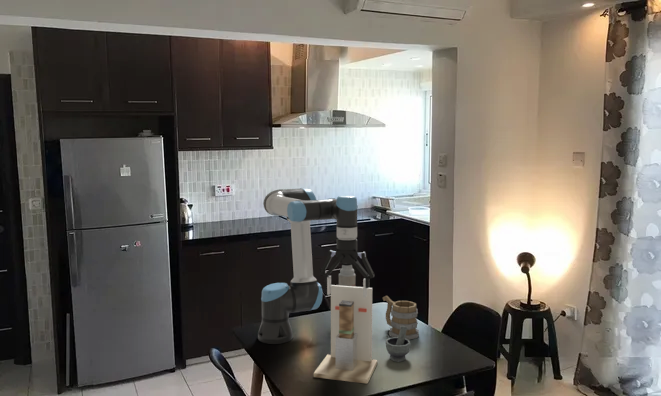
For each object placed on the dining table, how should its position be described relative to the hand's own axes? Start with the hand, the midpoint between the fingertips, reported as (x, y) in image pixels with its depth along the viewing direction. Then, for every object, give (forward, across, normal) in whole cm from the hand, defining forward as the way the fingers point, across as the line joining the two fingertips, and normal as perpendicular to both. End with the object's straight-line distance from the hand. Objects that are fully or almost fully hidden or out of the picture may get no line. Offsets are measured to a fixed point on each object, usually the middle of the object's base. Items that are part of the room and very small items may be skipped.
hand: (346, 295), depth 201 cm
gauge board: (+27, 0, +8) cm, 28 cm away
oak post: (+27, 0, 0) cm, 27 cm away
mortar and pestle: (+29, +17, +17) cm, 38 cm away
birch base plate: (+29, 0, 0) cm, 29 cm away
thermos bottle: (+29, -14, +56) cm, 65 cm away
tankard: (+29, +12, +46) cm, 56 cm away
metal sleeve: (+27, 0, 0) cm, 27 cm away
